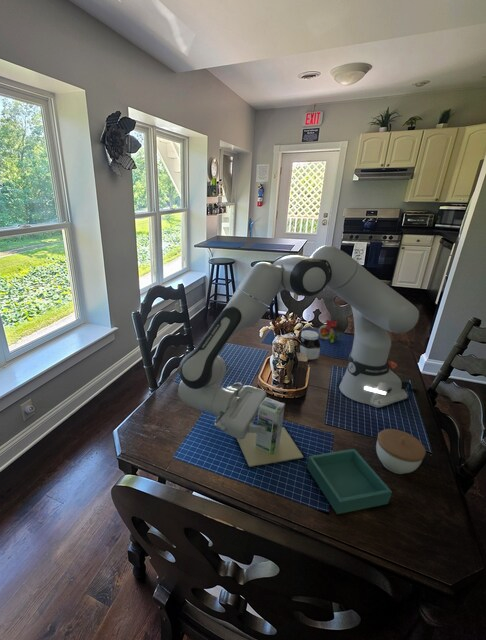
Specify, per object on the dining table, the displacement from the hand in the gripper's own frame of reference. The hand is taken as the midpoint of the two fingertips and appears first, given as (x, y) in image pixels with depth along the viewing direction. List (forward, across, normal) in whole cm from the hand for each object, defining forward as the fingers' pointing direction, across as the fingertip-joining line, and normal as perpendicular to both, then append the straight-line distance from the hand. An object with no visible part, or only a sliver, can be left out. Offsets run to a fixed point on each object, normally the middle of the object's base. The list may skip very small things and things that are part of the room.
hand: (272, 419), depth 90 cm
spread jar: (-4, +58, +10) cm, 59 cm away
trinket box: (+32, +11, +10) cm, 35 cm away
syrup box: (0, 0, +10) cm, 10 cm away
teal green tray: (+21, -3, +10) cm, 23 cm away
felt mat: (0, 0, +10) cm, 10 cm away
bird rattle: (+3, +81, +10) cm, 81 cm away
